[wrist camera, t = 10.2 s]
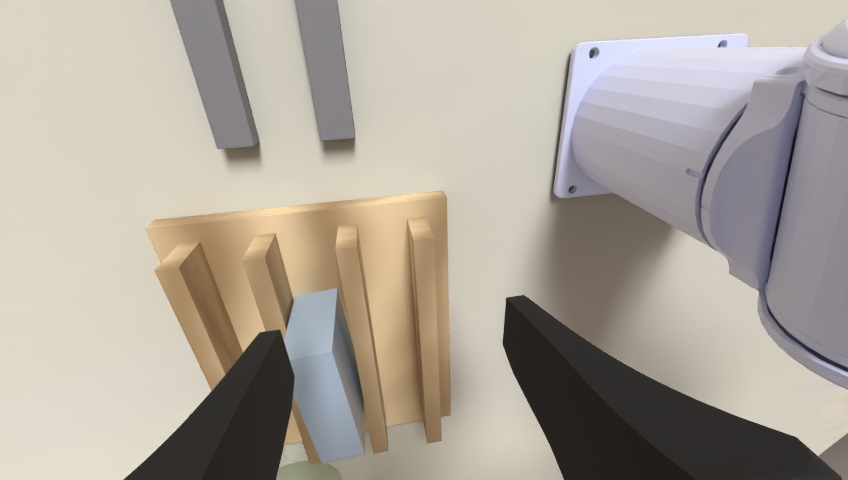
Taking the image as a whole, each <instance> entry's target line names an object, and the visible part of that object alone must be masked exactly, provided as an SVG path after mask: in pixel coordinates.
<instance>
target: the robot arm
mask: <svg viewBox="0 0 848 480" xmlns="http://www.w3.org/2000/svg"><path fill="white" fill-rule="evenodd" d="M720 42H721V44H720V47H718V45H719V43H720ZM747 45H748V36H747V35H746V34H723V35H705V36H686V37H668V38H649V39H631V40H612V41H594V42H581V43H578V44H577V45H576V46H575V47H574V48H573V50H572V53H571V59H570V67H569V74H568V82H567V90H566V97H565V105H564V113H563V120H562V128H561V135H560V143H559V151H558V158H557V166H556V173H555V181H554V189H553V191H554V194H555V195H556V196H557V197H559V198H572V197H581V196H590V195H599V194H608V193H615V194H617V195H619V196H620V197H622V198H624V199H626V200H627V201H629V202H631V203H633V204H635V205H636V206H638V207H640V208H642V209H643V210H645V211H647V212H649V213H651V214H652V215H654V216H656V217H658V218H659V219H661V220H663V221H665V222H667V223H668V224H670V225H672V226H674V227H675V228H677V229H679V230H681V231H683V232H684V233H686V234H688V235H690V236H691V237H693V238H695V239H697V240H699V241H700V242H702V243H704V244H706V245H707V246H709V247H711V248H713V249H715V250H717V251H719V252H720V253H721V254H722V255H724V256H725V257H726V259H727V260H728V263H729V273H730V274H731V275H733V276H734V277H736V278H738V279H739V280H741V281H743V282H744V283H746V284H748V285H749V286H751V287H753V288H754V289H756V290H757V291H760V292H759V296H758V313H759V317H760V320H761V323H762V325H763V326H764V328H765V330H766V331H767V333H768V335H769V336H770V337H771V338H772V339H773V340H774V341H775V343H776V344H777V345H778V346H779V347H780V348H781V349H782V350H784V351H785V352H786V353H787V354H788V355H789V356H791V357H792V358H793V359H794V360H796V361H797V362H799V363H800V364H802V365H803V366H805V367H806V368H808V369H809V370H811V371H812V372H814V373H816V374H818V375H819V376H821V377H823V378H825V379H827V380H828V381H830V382H832V383H834V384H836V385H838V386H841V387H843V388H845V389H847V390H848V18H846V19H845V20H844V21H843V22H841V23H840V24H839V25H837V26H836V27H835V28H833V29H832V30H830V31H828V32H827V33H825V34H823V35H821V36H820V37H819V38H817V39H816V40H815V41H814V42H812V43H811V44H810V45H809V46H808V47H747ZM592 48H594V50H595V53H594V56H593V57H592V58H590V57H589V52H590V50H591V49H592ZM571 186H573V189H572V190H571V191H569V192H568V190H569V188H570V187H571ZM503 346H504V349H505V352H506V355H507V358H508V360H509V363H510V366H511V368H512V371H513V373H514V375H515V377H516V379H517V381H518V383H519V385H520V387H521V389H522V391H523V393H524V395H525V397H526V399H527V401H528V403H529V405H530V407H531V409H532V411H533V412H534V414H535V416H536V418H537V420H538V422H539V424H540V426H541V428H542V430H543V432H544V434H545V436H546V438H547V440H548V442H549V444H550V446H551V449H552V451H553V453H554V456H555V458H556V461H557V463H558V466H559V468H560V470H561V473H562V475H563V478H564V480H842V478H841V477H840V476H839V475H838V474H837V473H836V472H835V471H834V470H832V469H831V468H830V467H829V466H828V465H827V464H826V463H825V462H824V461H823V460H821V459H820V458H819V457H818V456H817V455H816V454H815V453H814V452H812V451H811V450H810V449H809V448H808V447H807V446H806V445H805V444H803V443H802V442H801V441H800V440H799V439H798V438H796V437H794V436H791V435H788V434H785V433H783V432H780V431H777V430H774V429H771V428H768V427H766V426H763V425H760V424H757V423H754V422H751V421H748V420H746V419H743V418H740V417H737V416H735V415H732V414H730V413H727V412H725V411H722V410H720V409H717V408H715V407H712V406H710V405H708V404H705V403H703V402H700V401H698V400H696V399H694V398H691V397H689V396H687V395H684V394H682V393H680V392H678V391H676V390H674V389H672V388H670V387H668V386H665V385H663V384H661V383H659V382H657V381H655V380H653V379H651V378H649V377H647V376H645V375H643V374H642V373H640V372H638V371H636V370H634V369H633V368H631V367H629V366H627V365H625V364H623V363H622V362H620V361H618V360H617V359H615V358H613V357H611V356H610V355H608V354H607V353H605V352H603V351H602V350H600V349H599V348H597V347H596V346H594V345H592V344H591V343H589V342H588V341H586V340H585V339H583V338H582V337H580V336H579V335H578V334H576V333H575V332H573V331H572V330H570V329H569V328H568V327H566V326H565V325H563V324H562V323H561V322H559V321H558V320H557V319H555V318H554V317H553V316H551V315H550V314H549V313H547V312H546V311H545V310H543V309H542V308H541V307H539V306H538V305H537V304H535V303H534V302H533V301H531V300H530V299H529V298H527V297H526V296H524V295H522V296H515V297H508V298H506V309H505V322H504V334H503ZM294 380H295V376H294V372H293V369H292V366H291V363H290V359H289V356H288V353H287V350H286V346H285V343H284V340H283V337H282V333H281V330H273V331H265V332H259V334H258V335H257V336H256V337H255V338H254V340H253V341H252V342H251V343H250V345H249V346H248V347H247V348H246V350H245V351H244V352H243V353H242V355H241V356H240V357H239V359H238V360H237V361H236V362H235V364H234V365H233V366H232V367H231V369H230V370H229V371H228V372H227V373H226V375H225V376H224V377H223V378H222V379H221V381H220V382H219V383H218V384H217V385H216V387H215V388H214V389H213V390H212V391H211V393H210V394H209V395H208V396H207V397H206V398H205V399H204V401H203V402H202V403H201V404H200V405H199V406H198V407H197V408H196V409H195V411H194V412H193V413H192V414H191V415H190V416H189V417H188V418H187V419H186V421H185V422H184V423H183V424H182V425H181V426H180V427H179V428H178V429H177V430H176V431H175V432H174V433H173V434H172V435H171V436H170V437H169V438H168V439H167V440H166V441H165V442H164V443H163V444H162V445H161V446H160V447H159V448H158V449H157V450H156V451H155V452H154V453H153V454H152V455H151V456H149V457H148V458H147V459H146V460H145V461H144V462H143V463H142V464H141V465H140V466H139V467H137V468H136V469H135V470H134V471H133V472H132V473H131V474H129V475H128V476H127V477H126V478H125V479H124V480H276V477H277V473H278V469H279V464H280V460H281V455H282V451H283V446H284V442H285V438H286V433H287V428H288V424H289V419H290V415H291V410H292V401H293V392H294Z"/></svg>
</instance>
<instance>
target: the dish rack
mask: <svg viewBox="0 0 848 480" xmlns="http://www.w3.org/2000/svg"><path fill="white" fill-rule="evenodd" d="M145 230H146V232H147V234H148V236H149V238H150V241H151V243H152V245H153V247H154V249H155V251H156V254H157V256H158V258H159V260H160V262H161V264H160V265H159V266H158V267H157V268H156V269H155V270H154V271H155V273H156V275H157V277H158V279H159V281H160V283H161V285H162V287H163V290H164V292H165V294H166V296H167V298H168V300H169V302H170V304H171V306H172V308H173V310H174V313H175V315H176V317H177V319H178V321H179V323H180V325H181V327H182V329H183V331H184V333H185V336H186V338H187V340H188V342H189V344H190V346H191V348H192V350H193V352H194V354H195V356H196V359H197V361H198V363H199V365H200V367H201V369H202V371H203V373H204V375H205V377H206V379H207V382H208V384H209V386H210V388H211V390H213V389H214V388H215V387H216V385H217V384H218V383H219V382H220V381H221V379H222V378H223V377H224V376H225V375H226V373H227V372H228V371H229V370H230V369H231V367H232V366H233V365H234V364H235V362H236V361H237V360H238V359H239V357H240V356H241V355H242V353H243V352H244V351H245V350H246V348H247V347H248V346H249V345H250V343H251V342H252V341H253V340H254V338H255V337H256V336H257V335H258V334H259V332H265V331H273V330H281V333H282V337H283V340H284V339H285V335H286V331H287V327H288V323H289V319H290V315H291V311H292V307H293V303H294V300H295V296H297V295H303V294H308V293H314V292H319V291H325V290H330V289H336V288H338V292H339V296H340V299H341V303H342V306H343V310H344V314H345V317H346V321H347V325H348V328H349V332H350V335H351V339H352V343H353V346H354V351H355V356H356V362H357V367H358V372H359V378H360V383H361V388H362V394H363V399H364V430H369V431H370V436H371V442H372V447H373V452H374V453H378V452H383V451H388V439H387V426H392V425H398V424H404V423H409V422H415V421H420V420H423V422H424V427H425V433H426V439H427V443H432V442H437V441H441V417H443V416H449V415H450V359H449V301H448V243H447V197H446V195H445V194H444V192H443V191H438V192H428V193H418V194H408V195H398V196H388V197H378V198H369V199H359V200H349V201H339V202H329V203H319V204H309V205H300V206H290V207H280V208H270V209H260V210H250V211H240V212H231V213H221V214H211V215H201V216H191V217H181V218H172V219H162V220H155V221H154V222H152V223H151V224H150V225H149V226H148V227H146V228H145ZM302 441H303V444H304V447H305V450H306V453H307V456H308V459H309V462H310V465H313V464H318V463H321V460H320V458H319V455H318V453H317V451H316V448H315V446H314V444H313V441H312V439H311V437H310V434H309V432H308V430H307V427H306V425H305V423H304V420H303V418H302V416H301V413H300V411H299V409H298V406H297V404H296V402H295V399H294V397H293V401H292V410H291V415H290V419H289V424H288V428H287V433H286V438H285V442H284V445H285V444H291V443H296V442H302Z"/></svg>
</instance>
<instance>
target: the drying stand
mask: <svg viewBox="0 0 848 480" xmlns="http://www.w3.org/2000/svg"><path fill="white" fill-rule="evenodd" d="M170 2H171V5H172V8H173V11H174V14H175V17H176V21H177V24H178V27H179V30H180V33H181V36H182V39H183V43H184V46H185V49H186V52H187V55H188V58H189V61H190V65H191V68H192V71H193V74H194V77H195V80H196V83H197V87H198V90H199V93H200V96H201V99H202V102H203V105H204V109H205V112H206V115H207V118H208V121H209V124H210V127H211V130H212V134H213V137H214V140H215V143H216V146H217V149H225V148H237V147H249V146H255V145H256V144H257V143H258V142H259V138H258V134H257V131H256V127H255V123H254V119H253V115H252V111H251V108H250V104H249V100H248V96H247V92H246V88H245V85H244V81H243V77H242V73H241V69H240V65H239V62H238V58H237V54H236V50H235V46H234V42H233V38H232V35H231V31H230V27H229V23H228V19H227V15H226V12H225V8H224V4H223V0H170ZM295 2H296V7H297V13H298V18H299V24H300V29H301V35H302V41H303V46H304V52H305V57H306V63H307V68H308V74H309V79H310V85H311V90H312V96H313V102H314V107H315V113H316V118H317V124H318V129H319V135H320V140H321V141H323V140H335V139H348V138H355V129H354V122H353V114H352V107H351V99H350V92H349V85H348V77H347V70H346V62H345V55H344V47H343V40H342V32H341V25H340V18H339V10H338V3H337V0H295Z"/></svg>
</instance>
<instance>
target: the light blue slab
mask: <svg viewBox="0 0 848 480" xmlns="http://www.w3.org/2000/svg"><path fill="white" fill-rule="evenodd" d="M284 343H285V346H286V350H287V353H288V356H289V359H290V363H291V366H292V369H293V372H294V376H295V380H294V392H293V397H294V399H295V402H296V404H297V406H298V409H299V411H300V413H301V416H302V418H303V420H304V423H305V425H306V427H307V430H308V432H309V434H310V437H311V439H312V441H313V444H314V446H315V448H316V451H317V453H318V455H319V458H320V460H321V463H325V462H329V461H334V460H338V459H343V458H347V457H352V456H356V455H361V454H365V450H364V399H363V394H362V388H361V383H360V378H359V372H358V367H357V362H356V356H355V351H354V346H353V343H352V339H351V335H350V332H349V328H348V325H347V321H346V317H345V314H344V310H343V306H342V303H341V299H340V296H339V292H338V288H336V289H330V290H325V291H319V292H314V293H308V294H303V295H297V296H295V300H294V303H293V307H292V311H291V315H290V319H289V323H288V327H287V331H286V335H285V339H284Z"/></svg>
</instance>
